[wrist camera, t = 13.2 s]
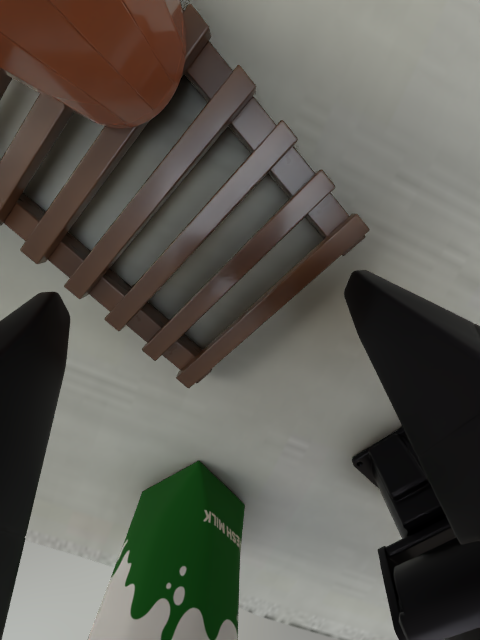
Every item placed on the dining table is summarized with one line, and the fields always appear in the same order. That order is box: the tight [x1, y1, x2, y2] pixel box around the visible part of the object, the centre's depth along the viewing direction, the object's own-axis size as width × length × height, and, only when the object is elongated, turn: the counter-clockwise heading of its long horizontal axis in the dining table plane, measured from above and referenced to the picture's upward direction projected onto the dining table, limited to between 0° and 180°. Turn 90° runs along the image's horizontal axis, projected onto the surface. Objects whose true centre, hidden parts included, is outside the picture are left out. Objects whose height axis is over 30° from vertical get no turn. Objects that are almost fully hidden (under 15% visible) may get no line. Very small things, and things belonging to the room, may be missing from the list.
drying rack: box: [0, 4, 369, 388], centre depth 16 cm, size 20×15×2 cm
